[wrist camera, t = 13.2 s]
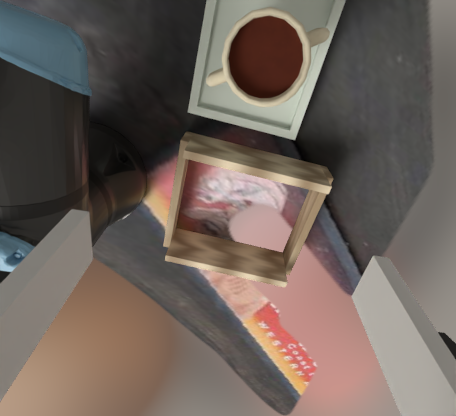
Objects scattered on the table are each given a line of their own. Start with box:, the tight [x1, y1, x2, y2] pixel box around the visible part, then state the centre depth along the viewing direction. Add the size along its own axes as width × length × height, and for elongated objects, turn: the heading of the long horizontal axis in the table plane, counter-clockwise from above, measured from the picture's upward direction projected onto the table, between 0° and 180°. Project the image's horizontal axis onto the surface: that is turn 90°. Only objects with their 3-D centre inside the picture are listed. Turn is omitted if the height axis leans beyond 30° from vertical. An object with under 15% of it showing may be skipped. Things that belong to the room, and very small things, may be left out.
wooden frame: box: [163, 131, 334, 287], centre depth 43 cm, size 20×17×7 cm
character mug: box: [206, 7, 330, 107], centre depth 29 cm, size 11×7×13 cm, turn 111°
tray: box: [188, 0, 346, 140], centre depth 35 cm, size 14×17×2 cm
